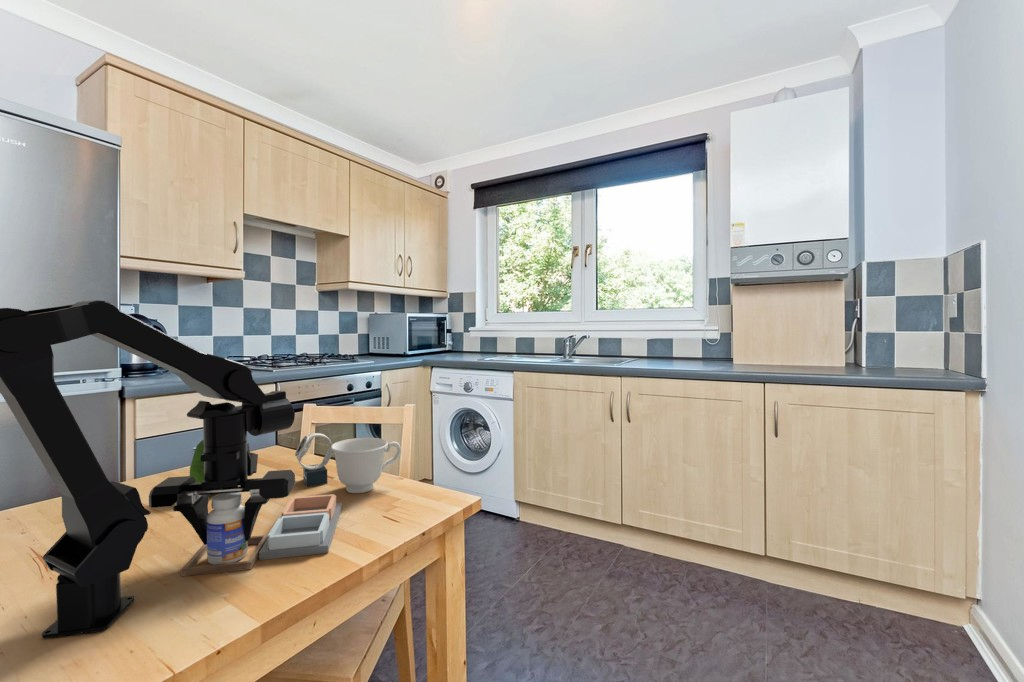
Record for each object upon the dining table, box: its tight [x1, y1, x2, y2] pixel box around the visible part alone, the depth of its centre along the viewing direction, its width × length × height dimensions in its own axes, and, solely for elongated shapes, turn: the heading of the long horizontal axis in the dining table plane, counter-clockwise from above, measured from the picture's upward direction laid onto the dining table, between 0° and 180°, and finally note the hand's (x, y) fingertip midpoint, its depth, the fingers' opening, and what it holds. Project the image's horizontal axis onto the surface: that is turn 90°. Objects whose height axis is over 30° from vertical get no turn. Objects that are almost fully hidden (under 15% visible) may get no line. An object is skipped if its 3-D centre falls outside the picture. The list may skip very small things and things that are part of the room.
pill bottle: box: [206, 492, 249, 565], centre depth 73 cm, size 5×5×10 cm
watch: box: [294, 432, 334, 488], centre depth 107 cm, size 6×8×11 cm
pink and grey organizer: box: [258, 493, 343, 561], centre depth 82 cm, size 18×10×3 cm, turn 14°
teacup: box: [331, 437, 402, 494], centre depth 103 cm, size 12×15×10 cm
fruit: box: [189, 438, 204, 483], centre depth 100 cm, size 8×8×12 cm
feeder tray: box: [180, 534, 268, 577], centre depth 73 cm, size 9×9×1 cm
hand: (227, 541), depth 73 cm, fingers closed on pill bottle, 5 cm apart
